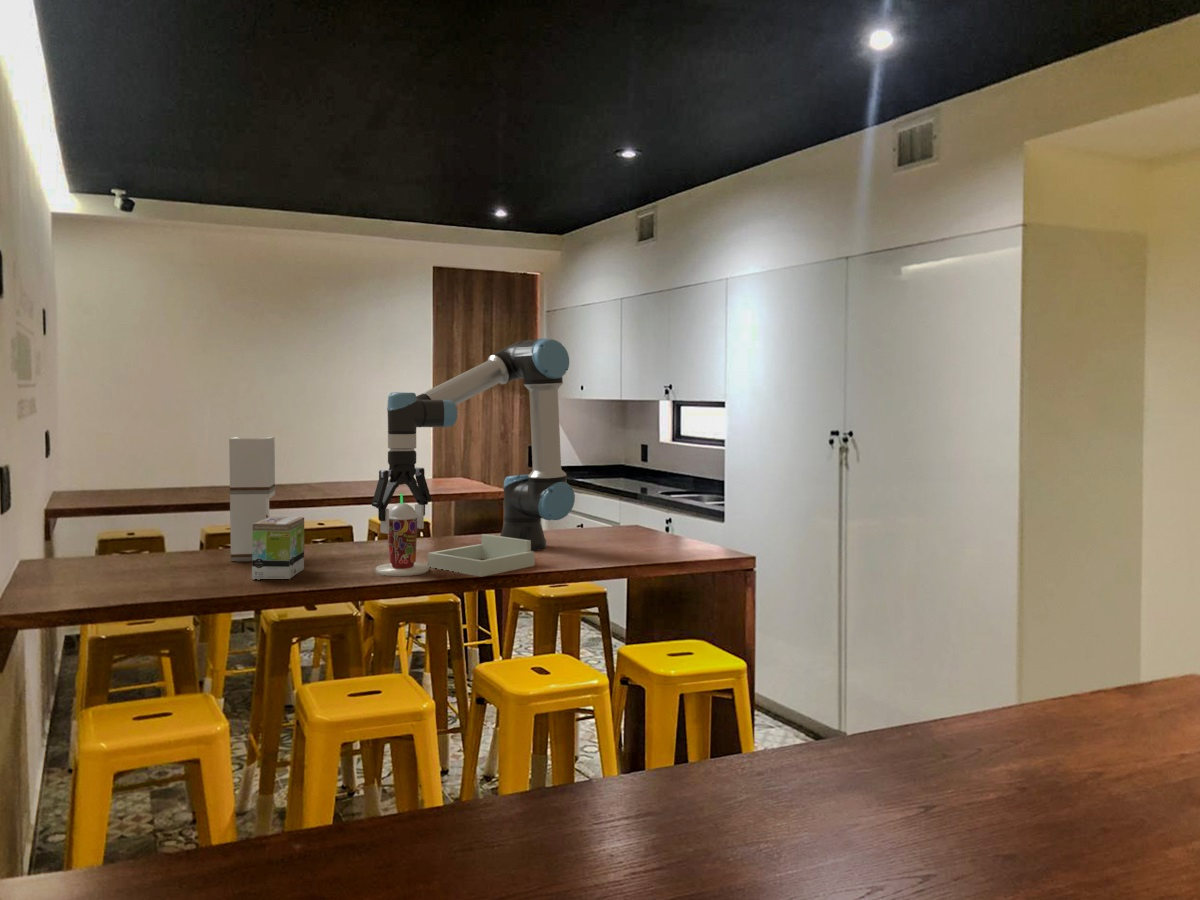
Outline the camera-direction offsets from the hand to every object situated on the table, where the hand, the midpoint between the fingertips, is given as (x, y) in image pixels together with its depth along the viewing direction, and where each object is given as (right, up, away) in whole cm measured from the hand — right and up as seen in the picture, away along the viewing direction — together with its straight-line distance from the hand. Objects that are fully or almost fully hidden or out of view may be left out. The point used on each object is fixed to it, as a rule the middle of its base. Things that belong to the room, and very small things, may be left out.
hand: (402, 530), depth 250 cm
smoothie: (0, -10, +1) cm, 10 cm away
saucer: (0, -11, +1) cm, 11 cm away
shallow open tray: (+20, -11, +9) cm, 25 cm away
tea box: (-31, -11, -6) cm, 34 cm away
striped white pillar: (-47, -10, +19) cm, 52 cm away
